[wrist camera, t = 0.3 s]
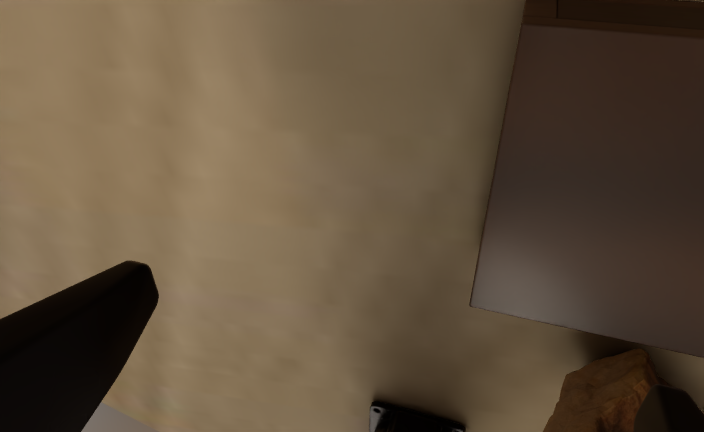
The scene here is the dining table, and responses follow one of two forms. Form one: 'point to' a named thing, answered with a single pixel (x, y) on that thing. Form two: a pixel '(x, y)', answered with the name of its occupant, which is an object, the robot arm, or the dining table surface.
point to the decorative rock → (605, 394)
